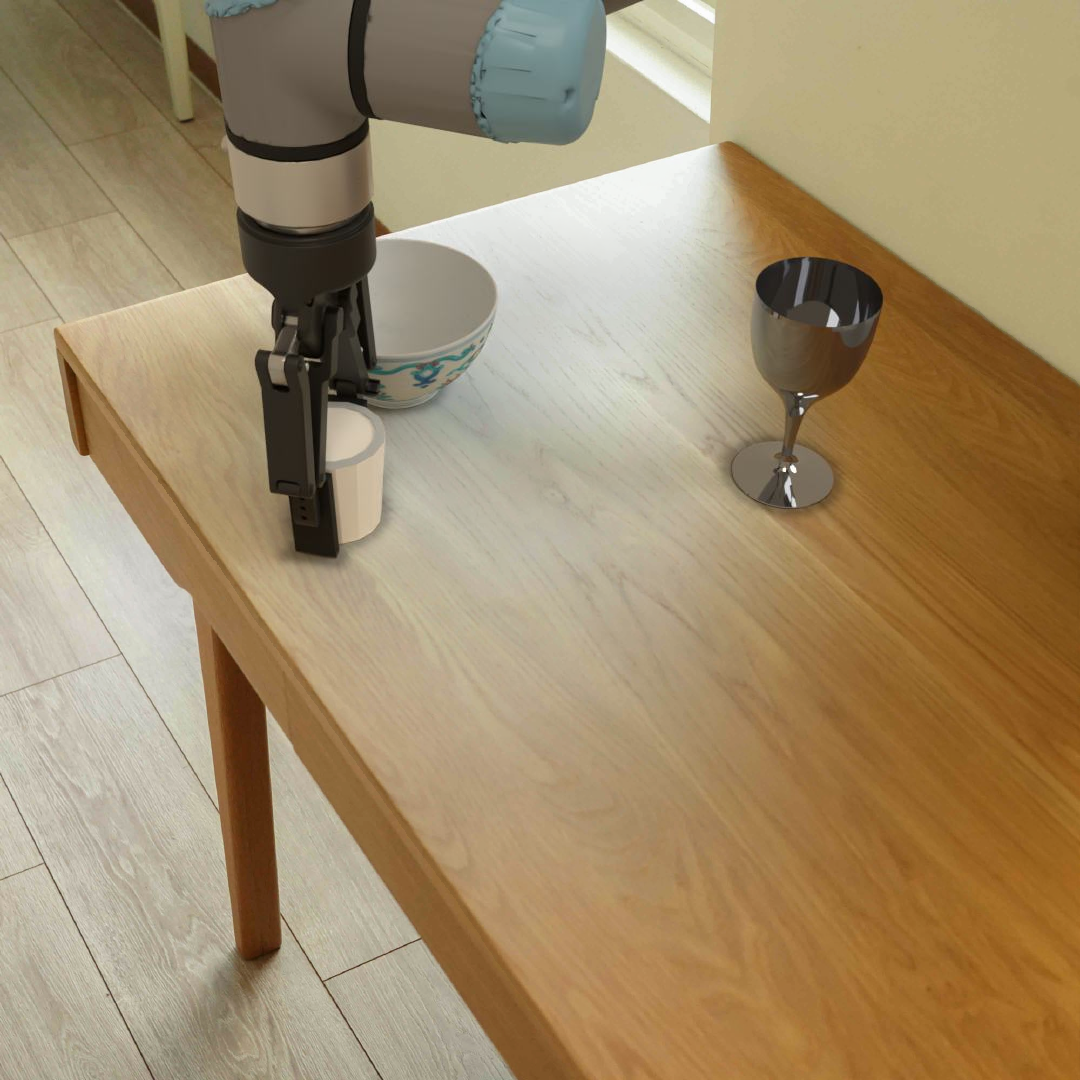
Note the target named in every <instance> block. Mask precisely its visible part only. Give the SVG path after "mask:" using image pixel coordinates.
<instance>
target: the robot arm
mask: <svg viewBox="0 0 1080 1080" xmlns="http://www.w3.org/2000/svg"><path fill="white" fill-rule="evenodd" d="M641 2H644V0H204V2H203V8H204V13H205V15H206V16H208V19H209V26H210V33H211V38H212V45H213V46H212V47H213V52H214V57H215V64H216V70H217V78H218V84H219V89H220V95H221V102H222V103H221V104H222V110H223V123H224V129H225V135H223V137H222V140H221V143H220V146H221V151H223V152H224V153H225V154H228V157H229V166H230V172H231V180H232V181H231V182H232V187H233V193H234V194H233V195H234V199H235V204H237V210H236V223H237V230H238V236H239V237H238V238H239V245H240V253H241V259H242V264H243V267H244V269H245V271H246V273H247V274H248V276H249V277H250V278H251V279H252V280H253V281H255V282H256V283H257V284H259V285H260V286H261V287H263V288H264V289H265V290H266V291H268V293H269V294H271V296H272V297H273V298H274V299H273V300H272V304H271V308H270V309H271V310H270V312H271V313H270V324H271V328H272V329H273V331H274V347H273V349H272V350H269V349H268V350H266V349H261V348H259V349H258V350H257V351H256V354H255V356H254V368H255V373H256V376H257V379H258V382H259V386H260V391H261V403H262V417H263V427H264V428H263V429H264V439H265V441H264V442H265V452H266V465H267V475H268V476H267V477H268V486H269V492H270V493H272V494H276V495H282V496H287V497H288V505H289V512H290V519H291V528H292V535H293V542H294V550H295V551H294V552H300V553H307V554H311V555H317V556H318V555H319V556H323V557H331V558H337V556H338V554H339V551H340V544H339V542H338V531H337V521H336V511H335V501H334V491H333V480H332V473H327V472H325V467H326V439H327V411H328V402H349V403H352V404H356V405H359V406H363V407H366V408H367V409H369V403H367V400H366V399H363V395H369V396H375V397H377V396H378V395H379V392H380V384H381V382H380V380H377V379H370V378H369V376H368V372H367V370H369V371H374V369H375V366H376V365H377V359H376V348H375V339H374V330H373V321H372V312H371V303H370V294H369V285H368V276H367V274H368V273H369V272H370V271H371V269H372V268H373V266H374V264H375V261H376V255H377V249H376V239H377V237H376V235H377V234H376V219H375V217H376V216H375V206H374V202H373V201H372V199H373V196H374V195H375V194H374V191H375V184H374V170H373V158H372V157H373V156H372V143H371V142H372V141H371V128H370V127H371V126H370V119H372V120H377V121H389V122H395V123H400V124H405V125H412V126H416V127H422V128H428V129H433V130H439V131H444V132H445V131H446V132H451V133H455V134H456V133H457V134H461V135H466V136H473V137H478V138H483V139H489V140H492V141H493V142H497V143H501V144H505V145H508V144H509V143H511V144H518V143H529V144H539V145H550V146H558V147H559V146H567V145H570V144H573V143H575V142H577V141H578V140H579V139H580V138H582V136H583V135H584V134H585V133H586V131H587V129H588V128H589V126H590V124H591V121H592V119H593V117H594V111H595V106H596V102H597V101H598V98H599V95H600V91H601V86H602V81H603V75H604V68H605V61H606V52H607V51H606V49H607V48H606V47H607V36H608V35H607V34H608V33H607V32H608V31H607V29H608V28H607V27H608V26H607V16H609V15H611V14H614V13H615V12H619V11H621V10H623V9H627V8H629V7H631V6H633V5H636V4H638V3H641ZM361 348H362V349H363V351H362V350H361ZM309 358H310V359H320V362H316V361H311V360H310V359H309ZM308 359H309V360H308ZM329 390H330V391H335V393H336V394H333V393H329Z"/></svg>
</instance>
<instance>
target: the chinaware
mask: <svg viewBox="0 0 1080 1080" xmlns="http://www.w3.org/2000/svg"><path fill="white" fill-rule="evenodd" d="M376 249H377V255H376V261H375V264H374V266H373V268H372V269H371V271H370V272H369V273H368V274H367V276H368V285H369V294H370V303H371V312H372V321H373V330H374V339H375V348H376V359H377V365H376V366H375V369H374V371H369V370H367V372H368V376H369V378H370V379H377V380H380V382H381V384H380V392H379V395H378V396H377V397H375V396H369V395H363V399H366V400H367V403H368V405H372V406H374V407H378V408H383V409H391V410H397V409H399V410H400V409H409V408H413V407H417V406H420V405H422V404H424V403H426V402H428V401H430V400H431V399H432V398H433V397H435V396H436V394H438V392H439V391H440V390H441V389H443V388H444V387H446V386H449V385H450V384H451V383H452V382H454V381H455V380H456V379H458V378H459V377H460V376H461V375H463V374H464V373H465V372H466V370H468V368H469V367H470V366H471V365H472V364H473V362H474V361H475V360H476V359H477V357H478V356H479V354H481V351H482V350H483V347H484V346H485V344H486V342H487V340H488V338H489V335H490V334H491V330H492V327H493V324H494V321H495V317H496V313H497V310H498V303H499V291H498V285H497V284H496V281H495V279H494V277H493V276H492V274H491V272H489V270H488V269H487V268H486V267H485V266H484V265H483V264H482V263H481V262H479V261H478V260H477V259H475V258H473V257H472V256H470V255H469V254H467V253H465V252H463V251H461V250H458V249H456V248H453V247H450V246H449V245H444V244H441V243H436V242H433V241H428V240H421V239H413V238H378V239H377V238H376ZM361 350H362V351H363V349H362V348H361ZM308 359H309V361H316V362H320V359H310V358H308Z"/></svg>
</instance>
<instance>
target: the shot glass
mask: <svg viewBox="0 0 1080 1080" xmlns="http://www.w3.org/2000/svg"><path fill="white" fill-rule="evenodd" d="M386 431H387V430H386V428H385V424H384V423H383V421H382V419H381V417H380V416H379V415H377V414H376V413H374V412H373V411H372V410H371V409H369V408H368V409H367V408H366V407H363V406H359V405H356V404H352V403H349V402H328V411H327V439H326V467H325V472H327V473H332V480H333V491H334V501H335V511H336V521H337V531H338V542H339V545H343V544H348V543H353V542H355V541H359V540H361V539H363V538H365V537H366V536H368V535H370V534H371V533H373V532H374V530H376V528H377V526H378V525H379V524H380V523H381V519H382V510H383V491H384V470H385V451H386Z"/></svg>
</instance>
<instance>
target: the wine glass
mask: <svg viewBox="0 0 1080 1080" xmlns="http://www.w3.org/2000/svg"><path fill="white" fill-rule="evenodd" d="M883 304H884V294H883V291H882V288H881V287H880V286H879V284H878V283H877V282H876V280H875V279H874V278H873V277H872V276H870V275H869V274H868V273H866V272H865V271H863V270H861V269H860V268H859V267H858V268H857V267H856V266H854V265H851V264H849V263H846V262H843V261H839V260H835V259H831V258H827V257H817V256H798V257H797V256H796V257H788V258H786V259H785V258H784V259H782V260H777V261H775V262H773V263H771V264H769V265H768V266H766V267H765V268H764V269H762V270H761V271H760V272H759V273H758V275H757V277H756V279H755V283H754V288H753V295H752V301H751V311H750V328H749V330H750V344H751V352H752V358H753V361H754V365H755V367H756V369H757V371H758V372H759V374H760V376H761V377H762V378H763V380H764V381H765V383H767V385H769V386H770V388H771V390H773V391H774V392H775V393H776V395H778V397H779V398H780V400H781V402H782V404H783V407H784V433H783V441H781V440H779V441H778V440H777V441H776V440H774V441H773V440H769V441H763V442H762V441H761V442H757V443H754V444H752V445H749V446H747V447H746V448H744V449H742V450H741V451H740V452H739V453H737V455H736V456H735V457H734V459H733V462H732V464H731V476H732V479H733V480H734V483H735V484H736V486H737V487H738V488H739V490H741V491H742V492H743V494H746V495H747V496H748V497H750V498H751V499H753V500H755V501H757V502H759V503H762V504H764V505H767V506H771V507H775V508H780V509H781V508H782V509H800V508H805V507H806V508H807V507H810V506H814V505H815V504H818V503H820V502H822V501H823V500H825V499H826V498H827V497H828V496H829V495H830V493H831V492H832V490H833V489H834V484H835V476H834V471H833V470H832V467H831V465H830V464H829V463H828V462H827V461H826V459H824V458H823V457H822V456H821V455H820V454H819V453H817V452H816V451H814V450H812V449H810V448H808V447H806V446H803V445H800V444H797V443H796V439H797V436H798V433H799V430H800V428H801V425H802V422H803V420H804V418H805V415H806V413H807V412H808V410H810V408H811V407H812V406H813V405H815V404H817V403H818V402H820V401H822V400H824V399H825V398H828V397H830V396H832V395H835V394H836V393H837V392H839V391H841V390H842V389H844V388H845V387H846V386H847V385H848V384H849V383H851V382H852V380H853V379H854V378H855V376H856V375H857V373H858V372H859V371H860V369H861V367H862V365H863V363H864V361H865V360H866V358H867V355H868V353H869V350H870V349H871V346H872V344H873V341H874V338H875V335H876V331H877V329H878V326H879V322H880V318H881V315H882V314H881V313H882V310H883Z"/></svg>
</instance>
